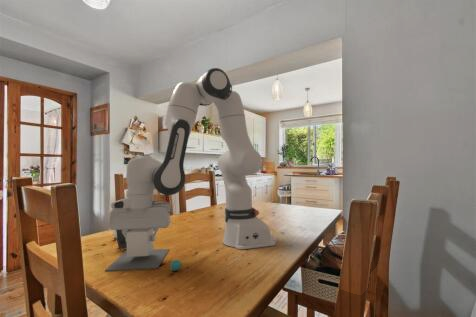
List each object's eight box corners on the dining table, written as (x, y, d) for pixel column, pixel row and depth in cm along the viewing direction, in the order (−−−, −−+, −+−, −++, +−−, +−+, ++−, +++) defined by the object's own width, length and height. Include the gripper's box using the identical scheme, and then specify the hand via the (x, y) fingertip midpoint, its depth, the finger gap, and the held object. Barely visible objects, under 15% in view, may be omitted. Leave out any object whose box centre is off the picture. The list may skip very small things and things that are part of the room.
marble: (181, 268, 72) (181, 257, 72) (180, 272, 69) (180, 262, 69) (171, 268, 72) (171, 258, 72) (169, 273, 69) (169, 262, 69)
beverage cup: (126, 250, 88) (126, 198, 89) (110, 249, 90) (110, 198, 90) (138, 244, 95) (138, 196, 96) (122, 243, 97) (122, 196, 97)
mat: (168, 249, 88) (168, 248, 88) (157, 268, 72) (157, 267, 72) (126, 251, 87) (126, 250, 87) (105, 271, 71) (105, 270, 71)
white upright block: (153, 248, 83) (153, 226, 83) (147, 255, 76) (147, 231, 76) (134, 249, 82) (134, 227, 83) (126, 256, 76) (126, 232, 76)
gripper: (172, 199, 84) (172, 237, 84) (114, 201, 82) (114, 239, 82) (168, 202, 78) (168, 242, 77) (106, 203, 76) (106, 245, 76)
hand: (140, 241), depth 80 cm, fingers closed on white upright block, 7 cm apart
